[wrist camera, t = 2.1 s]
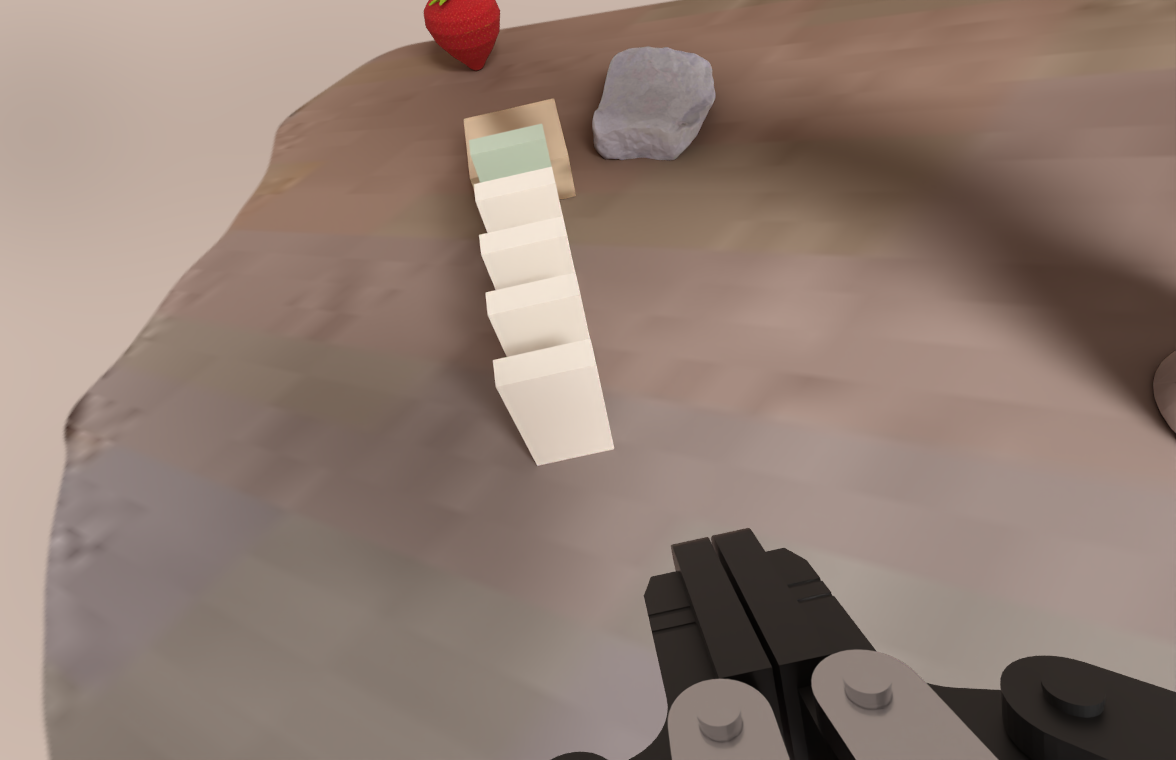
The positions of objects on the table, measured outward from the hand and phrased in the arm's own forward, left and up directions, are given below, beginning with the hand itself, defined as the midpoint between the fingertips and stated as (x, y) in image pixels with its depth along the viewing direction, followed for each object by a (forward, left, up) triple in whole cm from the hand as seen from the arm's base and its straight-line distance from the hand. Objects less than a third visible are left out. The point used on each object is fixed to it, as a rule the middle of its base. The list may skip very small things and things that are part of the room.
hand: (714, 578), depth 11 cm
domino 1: (+4, -32, -22) cm, 39 cm away
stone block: (-9, -44, -22) cm, 50 cm away
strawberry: (+7, -59, -22) cm, 63 cm away
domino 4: (+4, -18, -22) cm, 29 cm away
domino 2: (+4, -27, -22) cm, 35 cm away
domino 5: (+4, -14, -22) cm, 26 cm away
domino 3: (+4, -23, -22) cm, 32 cm away
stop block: (+4, -41, -22) cm, 46 cm away
